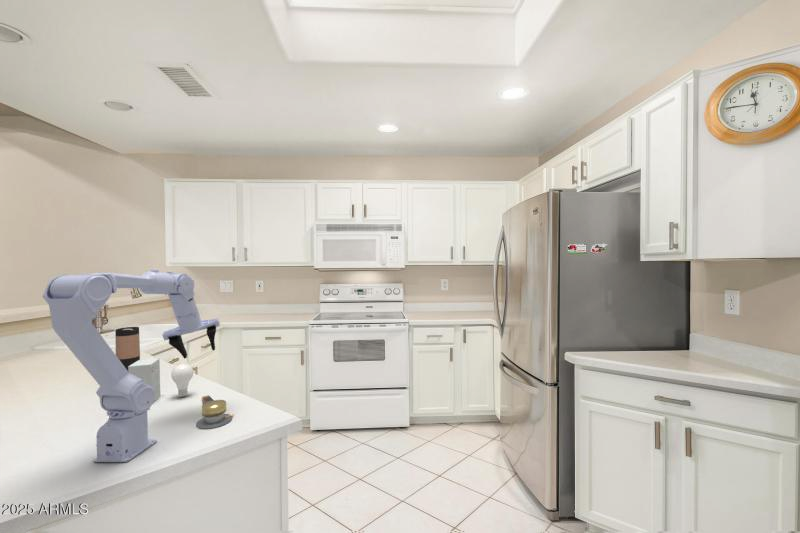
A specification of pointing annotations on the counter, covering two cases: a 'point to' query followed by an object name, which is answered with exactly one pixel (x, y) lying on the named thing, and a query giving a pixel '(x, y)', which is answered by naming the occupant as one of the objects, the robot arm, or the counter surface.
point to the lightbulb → (182, 378)
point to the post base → (210, 426)
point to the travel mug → (127, 345)
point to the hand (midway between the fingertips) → (199, 352)
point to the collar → (212, 407)
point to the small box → (148, 373)
